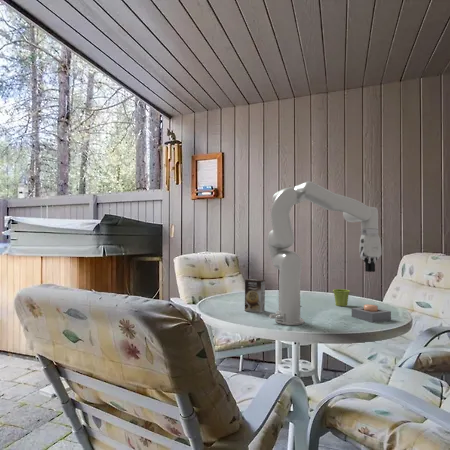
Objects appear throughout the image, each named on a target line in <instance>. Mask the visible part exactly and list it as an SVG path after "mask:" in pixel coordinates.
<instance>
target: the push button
mask: <svg viewBox="0 0 450 450" xmlns="http://www.w3.org/2000/svg"><path fill="white" fill-rule="evenodd" d="M378 306H379V305H376V304H369V303H368V304H363V307H364V310H366V311H370V312H375V311H378V309H379V307H378Z"/></svg>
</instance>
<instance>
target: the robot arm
mask: <svg viewBox="0 0 450 450" xmlns="http://www.w3.org/2000/svg"><path fill="white" fill-rule="evenodd" d="M306 201H308V202H309V203H312V204H315V205H316V206H318V207H320V208H322V209H323V210H327V211H332V212H340V213H342V217H343V219H344V221H346V222H348V223H359V222H360V228H361V229H360V239H359V246H358V247H359V251H358V252H359V259H361V260H363V263H364V265H365V268H364V271H365V272H366V273H373V272H376V263H377V260H379V259H380V257H381V256H382V253H383V252H382V244H381V243H382V242H381V238H380V237H381V236H380V235H379V211H378V208H377V207H375V206H368V205H367V204H365V203H363V202H362V201H360V200H358V199H355V198H352V197H349V196H346V195H342V194H340V193H339V194H338V193H335V192H333V191H331V190H329V189H327V188H325V187H323V186H322V185H319V184H318V183H315V182H314V181H310V180H309V181H308V180H307V181H305V182H302V183H300V184H296V185H294V186H291V187H285V188H282V189H279V190H278V191H276V192H275V193H274V194H273V196H272V198H271V202H272V206H271V209H270V220H271V227H272V229H271V230H270V231H269V232H268V235H267V244H268V245H267V246H268V250H269V255H270V259H271V263H272V264H273V266H274V268H276V269H277V270H279V275H278V310H276V312H275V313H270V314H269V315H268V316H269V319H271V320H272V319H273V320H274V322H276V323H277V324H281V325H286V326H298V325H303V324H304V323H305V319H303V318H301V276H302V275H301V274H302V268H303V261H302V257H301V256H300V255H299V254H298V253H297V252H296V251H294V250H290V249H289V248H291V247H292V246H293V245H294V243H295V236H294V230H293V227H292V221H291V210H292V207H293V206H294V205H297V204H300V203H302V202H306Z"/></svg>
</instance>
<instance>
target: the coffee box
mask: <svg viewBox="0 0 450 450" xmlns="http://www.w3.org/2000/svg"><path fill="white" fill-rule="evenodd" d="M265 300H266V280H265V279H259V278H258V279H257V278H256V279H255V278H246V279H244V311H245V312H251V313H252V312H253V313H259V314H261V313H263V312H265V311H266V307H265V305H266V301H265Z"/></svg>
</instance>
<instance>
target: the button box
mask: <svg viewBox="0 0 450 450" xmlns="http://www.w3.org/2000/svg"><path fill="white" fill-rule="evenodd" d="M351 317H352V318H355V319H357V320H358V319H359V320H361V321H366V322H368V323H369V322H370V323H379V322H380V323H381V322H388V320H389V321H392V311H391V310H385V309H381V308H378V311H375V312H370V311H366V310H364V306H363V307H362V306H361V307H352V308H351Z"/></svg>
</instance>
